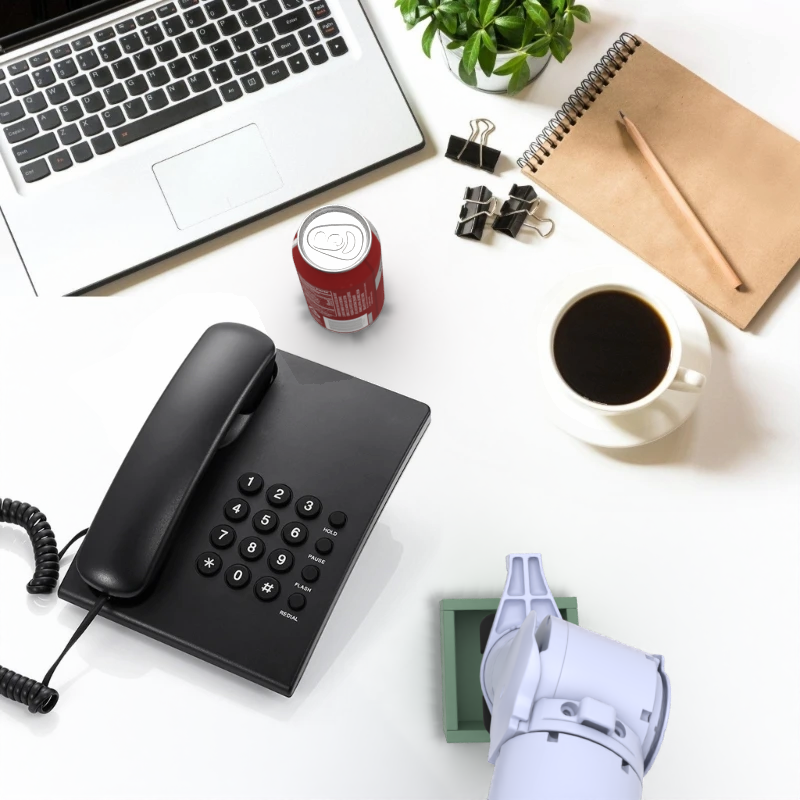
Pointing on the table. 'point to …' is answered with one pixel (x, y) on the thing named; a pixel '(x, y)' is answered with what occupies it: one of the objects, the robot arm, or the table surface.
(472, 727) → the bin
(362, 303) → the soda can
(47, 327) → the table surface
